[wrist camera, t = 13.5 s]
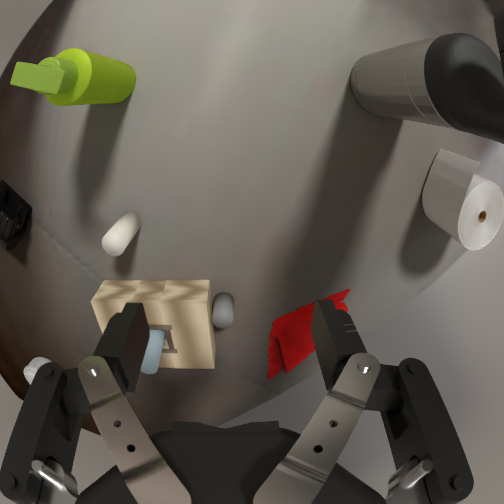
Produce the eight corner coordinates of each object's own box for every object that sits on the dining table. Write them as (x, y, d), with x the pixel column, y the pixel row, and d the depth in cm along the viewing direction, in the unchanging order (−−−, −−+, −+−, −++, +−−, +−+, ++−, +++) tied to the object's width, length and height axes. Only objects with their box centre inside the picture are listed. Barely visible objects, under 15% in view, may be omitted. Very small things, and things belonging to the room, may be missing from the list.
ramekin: (44, 348, 53) (35, 364, 48) (75, 379, 58) (69, 395, 53) (25, 357, 55) (17, 371, 50) (54, 385, 59) (47, 400, 55)
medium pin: (139, 211, 40) (122, 232, 33) (142, 231, 41) (126, 256, 35) (119, 212, 40) (99, 233, 33) (123, 232, 41) (104, 256, 34)
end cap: (-9, 208, 37) (-32, 222, 31) (0, 177, 35) (-25, 189, 29) (24, 239, 40) (3, 257, 34) (35, 209, 38) (12, 226, 32)
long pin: (168, 307, 48) (154, 360, 37) (171, 321, 49) (159, 374, 38) (150, 307, 47) (133, 359, 37) (154, 321, 49) (139, 373, 38)
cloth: (331, 267, 46) (335, 274, 44) (375, 307, 51) (379, 315, 49) (226, 355, 54) (226, 364, 52) (277, 381, 59) (278, 390, 57)
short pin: (233, 292, 47) (233, 311, 42) (233, 307, 48) (234, 328, 44) (213, 292, 47) (211, 312, 42) (214, 308, 48) (212, 328, 44)
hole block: (209, 279, 45) (206, 304, 40) (215, 344, 52) (214, 369, 46) (104, 280, 45) (90, 302, 39) (123, 341, 51) (115, 364, 46)
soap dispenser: (132, 110, 33) (45, 121, 15) (91, 97, 31) (-9, 105, 14) (149, 70, 31) (72, 43, 13) (106, 58, 29) (12, 36, 11)
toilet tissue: (443, 234, 44) (476, 262, 35) (405, 196, 41) (441, 220, 32) (474, 189, 40) (511, 209, 31) (440, 144, 37) (482, 159, 28)
